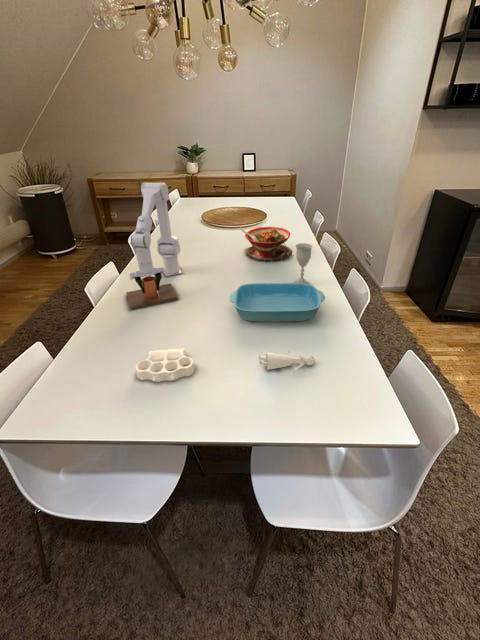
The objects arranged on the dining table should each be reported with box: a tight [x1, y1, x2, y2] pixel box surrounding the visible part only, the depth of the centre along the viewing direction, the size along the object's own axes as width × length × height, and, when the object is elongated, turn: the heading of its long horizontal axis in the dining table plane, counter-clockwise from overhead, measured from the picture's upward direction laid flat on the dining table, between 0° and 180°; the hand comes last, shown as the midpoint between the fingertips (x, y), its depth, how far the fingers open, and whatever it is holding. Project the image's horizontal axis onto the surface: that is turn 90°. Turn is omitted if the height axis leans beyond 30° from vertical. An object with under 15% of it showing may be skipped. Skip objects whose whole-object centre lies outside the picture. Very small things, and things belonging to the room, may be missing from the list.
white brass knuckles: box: [134, 347, 195, 383], centre depth 110 cm, size 3×18×15 cm
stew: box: [238, 225, 293, 263], centre depth 182 cm, size 28×24×16 cm
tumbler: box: [141, 275, 158, 298], centre depth 148 cm, size 6×6×8 cm
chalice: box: [295, 242, 314, 284], centre depth 152 cm, size 7×7×18 cm
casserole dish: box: [229, 282, 326, 323], centre depth 136 cm, size 37×22×7 cm, turn 86°
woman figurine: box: [258, 349, 316, 374], centre depth 109 cm, size 12×4×18 cm
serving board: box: [125, 282, 179, 311], centre depth 151 cm, size 14×20×2 cm
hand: (150, 290), depth 149 cm, fingers closed on tumbler, 6 cm apart
